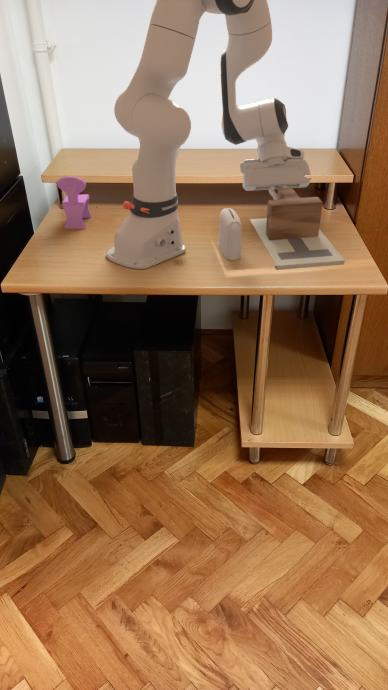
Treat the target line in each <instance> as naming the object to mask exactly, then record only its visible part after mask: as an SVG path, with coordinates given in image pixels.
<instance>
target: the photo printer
mask: <svg viewBox="0 0 388 690" xmlns="http://www.w3.org/2000/svg"><path fill="white" fill-rule="evenodd" d="M218 231H219V233H218V234H219V236H218V237H219V238H218V240H219V246H218V247H219V248H220V251H221V253H222V255H223V256H224V258H225V259H226V260H230V261H231V260H232V261H235V260H239V259H241V258H242V257H241V255H242V254H241V253H242V250H241V249H242V222H241V218H240V217H239V215H238V213H237V212H236V211H235V210H234V209H233V208H231V207H228V208H227V207H226V208H223V209H222V210H221V211H220V213H219V230H218Z"/></svg>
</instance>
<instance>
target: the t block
mask: <svg viewBox="0 0 388 690" xmlns="http://www.w3.org/2000/svg"><path fill="white" fill-rule="evenodd" d="M277 195H278V196H277V200H274V199H267V207H266V208H267V209H266V211H267V212H266V218H267V223H266V236H267V237H268V239H269V240H281V239H294V238H307V237H318V235H319V229H320V224H321V219H322V217H321V216H322V209H323V203H324V202H323V201H322V200H321V198H320V197H318V196H311V197H310V196H309V197H300V196H299V194H297V192H296V190H294V188H280V189H277Z"/></svg>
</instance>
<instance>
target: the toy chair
mask: <svg viewBox="0 0 388 690" xmlns="http://www.w3.org/2000/svg"><path fill="white" fill-rule="evenodd" d="M56 184H57V187H58V188H59V190H61V191H63V192H64V193H66V196H65V198H64V199H63V201H62V202H61V203H62V209H63V211H64V214H65V217H66V220H65V225H64V229H77V230H78V229H79V230H80V229H82V230H84V229H85V230H86V225H85V224H84V220H83V219H92V215H91V213H90V209H89V202H90V194H88V193H87V194H86V193H85V194H84V193H83V194H80V193H82V192H83V191H84V190H85V189H86V187H87V183H86V181H85V180H84V179H82V178H81V177H77V176H72V175H71V176H69V175H67V176H62V177H60V178H59V179H57V180H56Z"/></svg>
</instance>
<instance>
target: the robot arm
mask: <svg viewBox="0 0 388 690" xmlns="http://www.w3.org/2000/svg"><path fill="white" fill-rule="evenodd" d="M152 10H153V11H152V14H151V17H150V21H149V25H148V29H147V33H146V38H145V41H144V45H143V50H142V53H141V57H140V60H139V64H138V66H137V67H136V70H135V72H134V74H133V77H132V78H131V81H130V82H129V84H128V86H127V87H126V89H125V90H124V91H123V92H122V93H121V94H120V95H119V96H118V97H117V99H116V100H115V104H114V109H113V110H114V111H113V112H114V116H115V119H116V121H117V123H118V124H119V126H120V127H121V128H122V129H123V130H124V131H126V132H127V133H128V134H129V135H131V136H134V137H136V138H138V140H139V150H138V156H137V159H136V160H135V161H134V162H133V164H132V168H131V171H132V183H133V184H132V185H133V194H132V198H131V201H127V200H124V202H123V204H122V207H123V209H125V210H127V211H128V210H129V213H128V215H127V216H126V217H125V219H124V221H123V222H122V224H121V225H120V226H119V228H118V229H117V231H116V232H115V234H114V244H113V246H112V247H111V248H110V249H108V250H107V251H106V252H105V253H106V254H105V255H106V258H107V259H108V260H109V261H111V262H113V263H115V264H117V265H120V266H122V267H127V268H130V269H139V270H145V269H148V268H150V267H153V266H155V265H158V264H159V263H162V262H164V261H165V262H166V261H167V260H170V259H172V258H175V257H177V256H179V255H182V254H185V253H186V251H187V250H186V246H185V244H184V241H183V236H182V235H183V234H182V228H181V227H182V226H181V221H180V217H179V215H178V214H179V213H178V208H179V199H178V198H179V197H178V193H177V192H176V191H177V190H176V187H177V186H176V184H177V183H176V182H177V181H176V177H177V176H176V175H177V174H176V172H177V171H176V167H177V166H176V164H177V160H178V155H179V151H180V148H181V147H182V146H183V145H184V144H185V143H186V141H187V140H188V138H189V137H190V133H191V129H192V122H191V118H190V115H189V113H188V112H187V110H185V109H184V108H183V107H182V106H181V105H180V104H178V103H177V102H176V101H175V100H172V99H169V98H170V95H171V93H172V91H173V89H174V88H175V86H176V85H177V84H178V83H179V82H180V81H181V80H183V79H184V78H185V77H186V75H187V73H188V69H189V65H190V61H191V57H192V54H193V50H194V46H195V43H196V39H197V34H198V30H199V24H200V20H201V18H202V16H203V15H204V14H205V12H206V13H209V14H215V15H224V17H225V24H226V29H227V33H228V34H227V35H228V42H227V45H226V49H224V50H223V51H222V52H221V55H220V85H221V86H220V87H221V104H222V116H221V131H222V135H223V137H224V140H226V141H227V142H229V143H231V144H233V145H235V146H237V145H240V144H243V143H247V142H248V141H253V140H256V143H257V156H258V157H257V158H251V159H244V160H243V161H241V162H240V165H239V167H240V172H241V173H242V189H244V190H245V191H246V192H249V191H264V190H265V191H266V190H267V191H268V194H269V195H270V196H271V197H272V198H273V200H277V196H278V193H277V192H276V191H275V190H278V189H280V188H292V189H296V188H299V189H301V188H306V187H308V186H309V185H310V183H311V182H310V180H311V181H312V177H311V178H306V177H304V176H305V175H311V176H312V174H311V170H310V166H309V164H308V162H307V160H306V159H305V158H304V157H305V152H304V150H302V149H298V148H293V147H290V146H288V145H287V142H286V139H285V136H286V133H287V131H288V128H289V123H288V121H287V120H288V119H287V109H286V105H285V103H283V102H282V101H280V99H278V98H275V97H274V98H269V99H264V100H260V101H257V102H253V103H248V104H244V105H238V104H237V94H236V93H237V91H236V87H237V86H236V83H237V80H238V78H239V76H241V74H243V73H244V72H245V71H247V69H249V68H251V67H252V66H253V65H255V64H256V63H258V62H259V61H260V60H261V59H262V58H263V57H264V56H265V55H266V54H267V53H268V50H269V49H270V47H271V44H272V42H273V29H272V27H273V25H272V18H271V13H270V8H269V3H268V0H156V1H155V3H154V7H153V9H152ZM308 182H310V183H308Z"/></svg>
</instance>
